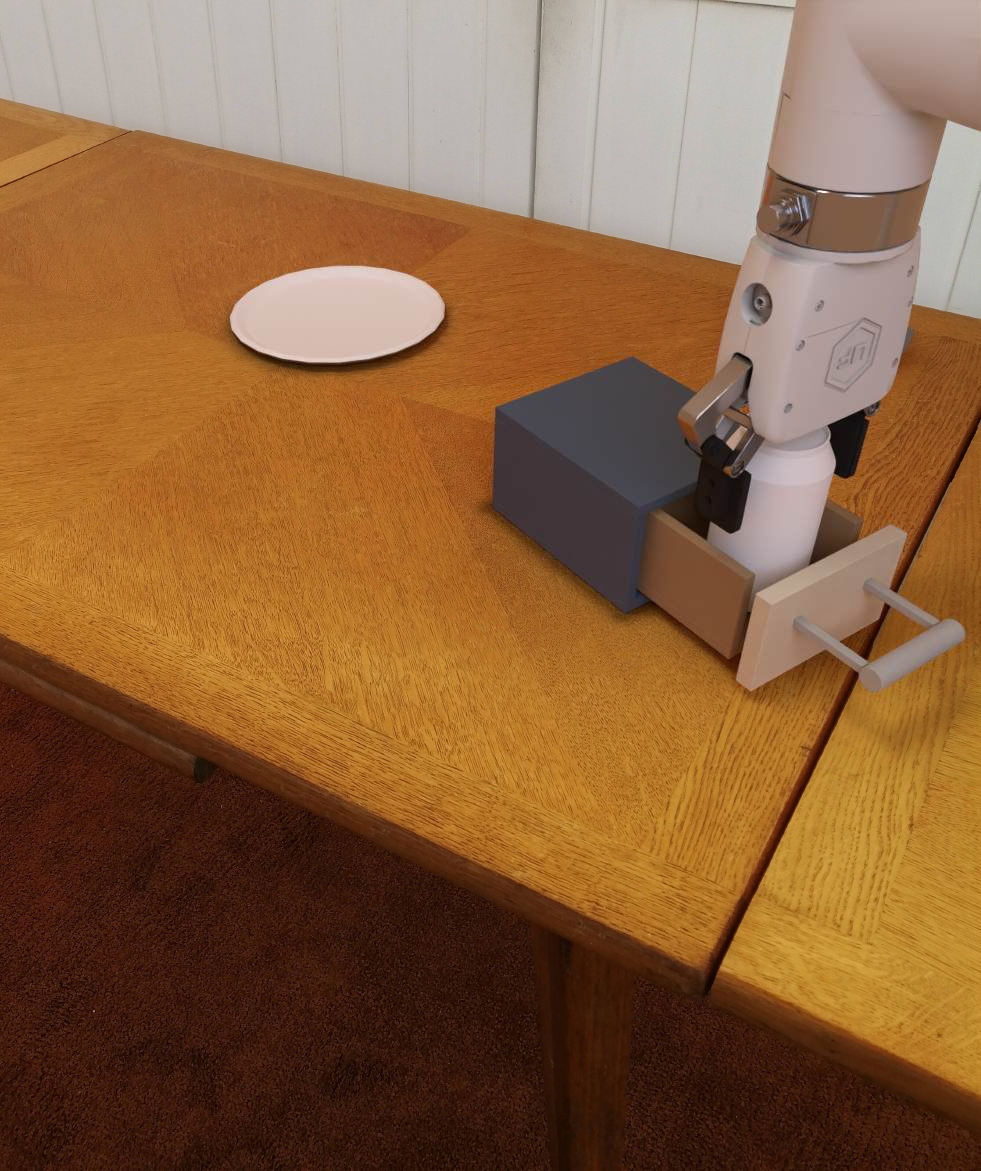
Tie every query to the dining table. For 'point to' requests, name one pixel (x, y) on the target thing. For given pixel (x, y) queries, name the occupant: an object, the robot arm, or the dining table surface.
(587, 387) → the cabinet
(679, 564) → the drawer
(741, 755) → the dining table surface
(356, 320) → the plate
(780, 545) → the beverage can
